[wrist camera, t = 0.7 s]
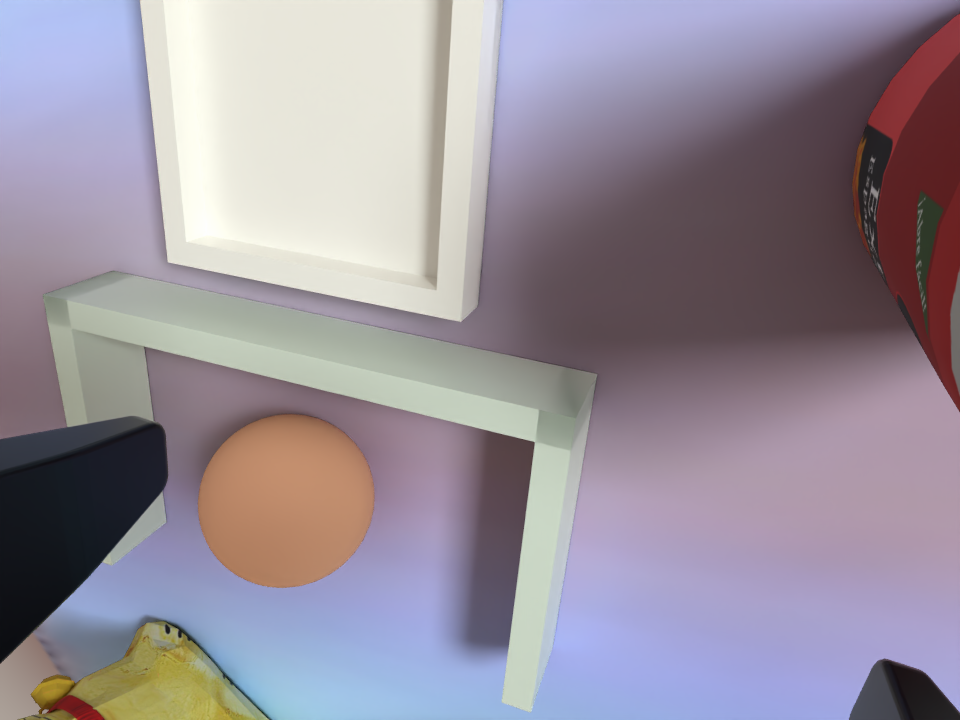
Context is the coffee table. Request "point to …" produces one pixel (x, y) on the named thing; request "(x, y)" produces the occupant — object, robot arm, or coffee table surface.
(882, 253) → the canned food
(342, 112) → the dish
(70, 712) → the chocolate bunny
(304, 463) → the ball
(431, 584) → the coffee table surface
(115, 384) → the corral
